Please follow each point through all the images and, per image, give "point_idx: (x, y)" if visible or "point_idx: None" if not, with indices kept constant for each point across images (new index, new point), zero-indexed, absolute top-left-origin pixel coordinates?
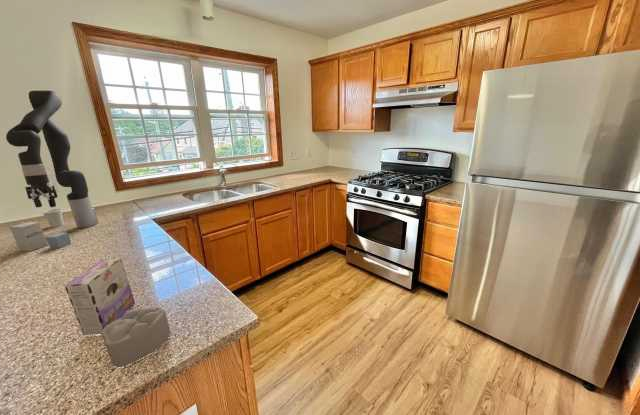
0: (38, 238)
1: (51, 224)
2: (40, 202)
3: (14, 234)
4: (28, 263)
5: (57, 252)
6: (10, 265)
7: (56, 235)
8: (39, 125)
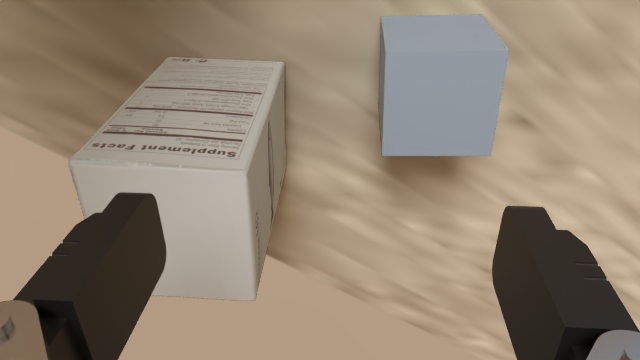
0: (278, 138)
1: None
2: (116, 252)
3: None
4: (473, 281)
5: (522, 165)
6: (387, 298)
7: (452, 121)
8: None
